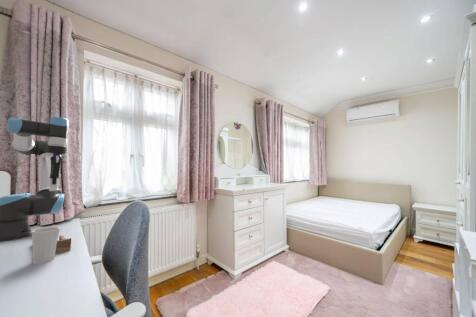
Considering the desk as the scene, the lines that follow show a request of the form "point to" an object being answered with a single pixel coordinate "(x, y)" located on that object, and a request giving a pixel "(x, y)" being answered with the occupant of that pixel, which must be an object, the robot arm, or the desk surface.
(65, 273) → the desk surface
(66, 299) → the desk surface
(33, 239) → the cup
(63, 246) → the cradle
